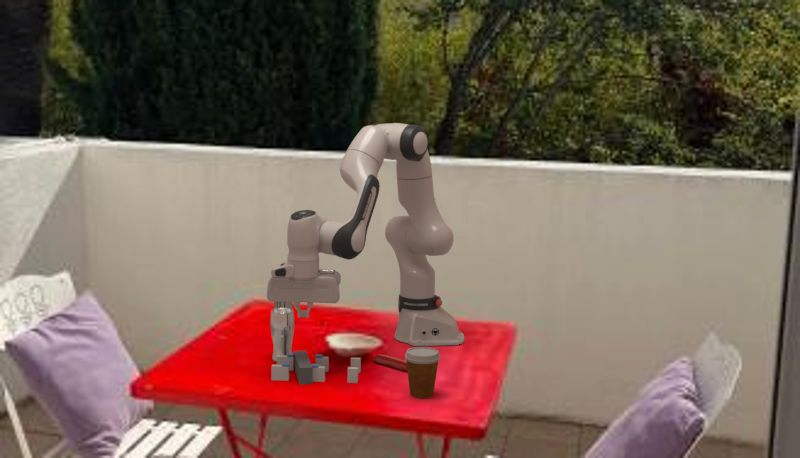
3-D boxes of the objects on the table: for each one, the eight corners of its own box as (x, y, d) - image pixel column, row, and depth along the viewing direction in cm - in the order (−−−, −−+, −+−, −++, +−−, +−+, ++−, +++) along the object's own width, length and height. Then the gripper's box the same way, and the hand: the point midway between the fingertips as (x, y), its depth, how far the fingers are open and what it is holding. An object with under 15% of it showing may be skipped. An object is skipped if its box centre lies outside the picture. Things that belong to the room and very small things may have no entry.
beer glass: (290, 363, 299) (290, 314, 296) (267, 361, 300) (267, 312, 297) (297, 356, 305) (297, 308, 303) (274, 355, 307) (274, 306, 304)
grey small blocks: (360, 371, 293) (360, 355, 292) (357, 382, 283) (357, 367, 282) (277, 368, 294) (277, 353, 293) (271, 380, 284) (271, 364, 283)
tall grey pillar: (305, 367, 297) (305, 350, 296) (312, 384, 281) (312, 367, 280) (293, 367, 296) (293, 351, 295) (299, 385, 281) (299, 367, 280)
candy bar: (420, 372, 294) (420, 362, 294) (411, 375, 291) (412, 365, 291) (378, 360, 304) (378, 350, 304) (370, 363, 302) (370, 353, 301)
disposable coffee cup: (402, 388, 279) (403, 346, 276) (437, 388, 279) (438, 346, 277) (405, 400, 269) (406, 357, 267) (441, 400, 270) (442, 356, 268)
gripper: (341, 267, 286) (341, 315, 288) (269, 265, 287) (269, 313, 289) (339, 272, 280) (339, 321, 282) (265, 270, 281) (265, 319, 283)
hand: (303, 317), depth 286 cm, fingers closed
